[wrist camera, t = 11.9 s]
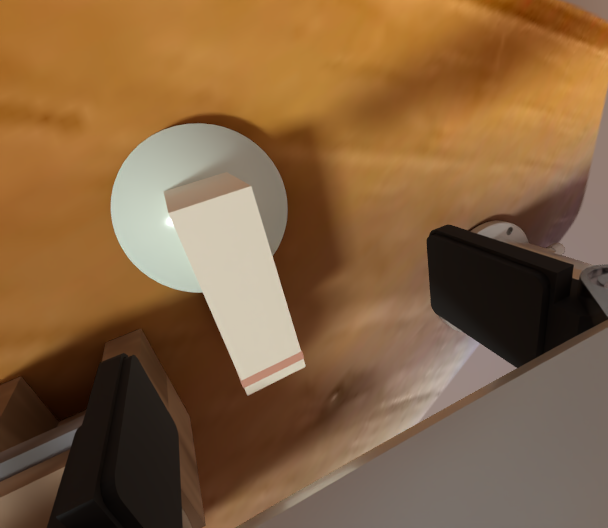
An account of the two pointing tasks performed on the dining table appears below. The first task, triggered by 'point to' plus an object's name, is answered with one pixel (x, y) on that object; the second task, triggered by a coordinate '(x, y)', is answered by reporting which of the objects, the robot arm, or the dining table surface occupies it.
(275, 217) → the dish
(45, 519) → the dispenser
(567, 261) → the robot arm
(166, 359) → the dining table surface
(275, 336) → the white box
